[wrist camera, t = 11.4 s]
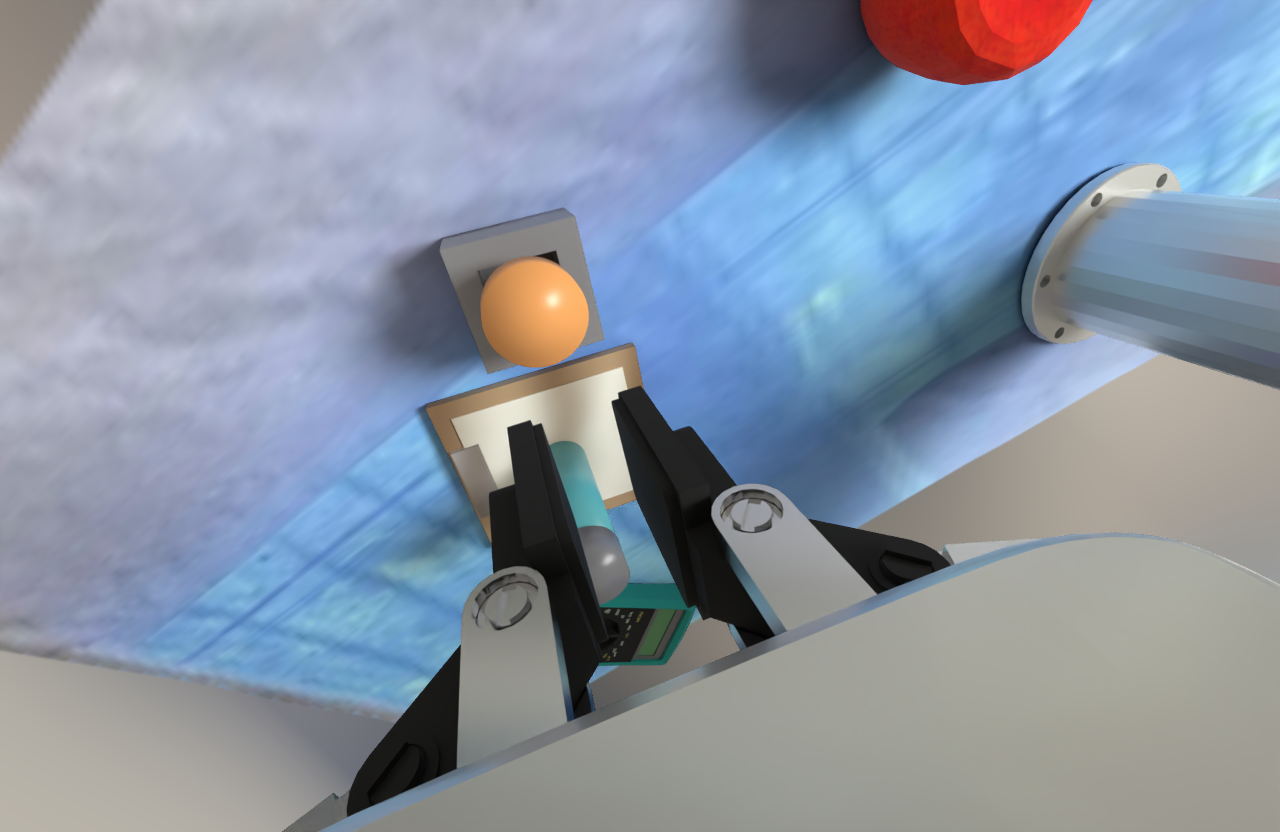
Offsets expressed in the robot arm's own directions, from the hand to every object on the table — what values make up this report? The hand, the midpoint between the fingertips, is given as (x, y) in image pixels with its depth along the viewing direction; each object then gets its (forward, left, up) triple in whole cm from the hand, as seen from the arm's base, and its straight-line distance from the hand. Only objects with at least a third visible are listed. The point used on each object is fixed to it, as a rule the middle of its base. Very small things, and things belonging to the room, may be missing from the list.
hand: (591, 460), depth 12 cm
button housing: (0, 0, -17) cm, 17 cm away
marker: (+1, +11, -16) cm, 20 cm away
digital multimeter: (+2, +26, -18) cm, 32 cm away
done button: (0, 0, -15) cm, 15 cm away
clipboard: (+1, +10, -17) cm, 20 cm away
